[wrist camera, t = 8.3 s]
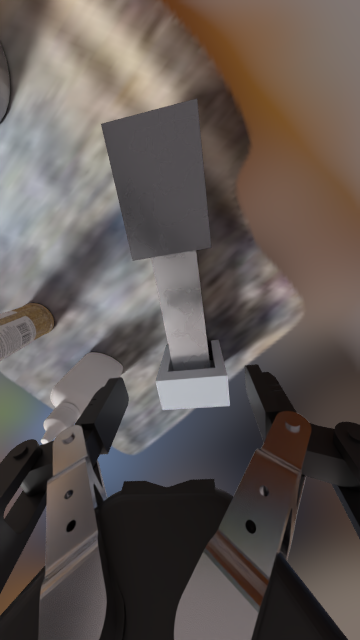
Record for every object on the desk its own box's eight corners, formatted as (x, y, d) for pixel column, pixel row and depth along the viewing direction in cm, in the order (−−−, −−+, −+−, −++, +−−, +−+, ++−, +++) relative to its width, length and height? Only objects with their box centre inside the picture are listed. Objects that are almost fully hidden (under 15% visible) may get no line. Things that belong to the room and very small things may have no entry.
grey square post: (156, 233, 21) (145, 229, 16) (193, 226, 20) (192, 221, 16) (179, 359, 26) (176, 384, 22) (209, 357, 26) (211, 381, 21)
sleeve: (132, 164, 19) (101, 123, 13) (196, 149, 18) (197, 98, 12) (150, 256, 22) (132, 260, 16) (206, 247, 21) (211, 247, 15)
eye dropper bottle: (107, 383, 29) (53, 468, 18) (81, 357, 28) (4, 431, 17) (128, 370, 28) (84, 452, 17) (101, 342, 27) (34, 410, 16)
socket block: (166, 345, 26) (155, 381, 19) (218, 339, 25) (227, 375, 18) (171, 368, 27) (162, 409, 20) (220, 363, 27) (229, 405, 20)
